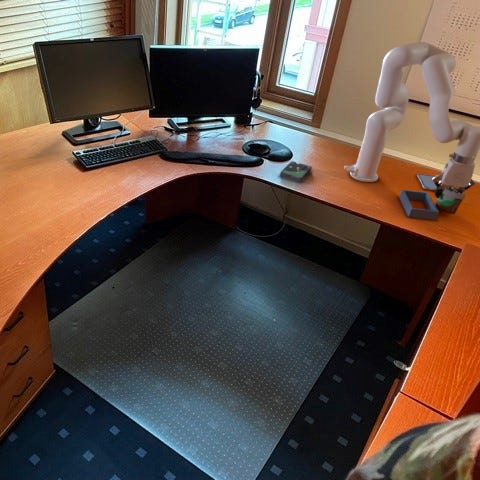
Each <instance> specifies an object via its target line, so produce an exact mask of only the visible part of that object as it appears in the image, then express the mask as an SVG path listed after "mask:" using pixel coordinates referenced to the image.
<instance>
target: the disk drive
mask: <svg viewBox="0 0 480 480" xmlns="http://www.w3.org/2000/svg"><path fill="white" fill-rule="evenodd" d="M312 168H313V166H311V165H308V164H304V163H297V161H294V160H291V161H290V162H289V163H288V164H287V165H286V166H285V167H284V168H283V169H282V170H281V171H280V173H279V177H281V178H284V179H286V180H290V181H293V182H297V183H301V182H302V181H304V179H306V178H307V176H308V175H309V174H310V173H311V171H312Z"/></svg>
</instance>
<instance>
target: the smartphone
mask: <svg viewBox="0 0 480 480" xmlns="http://www.w3.org/2000/svg"><path fill="white" fill-rule="evenodd" d="M416 176H417V178H418V180H419V183H420V184H421V187H422V188H423V189H424V190H430V191H436V188H437V186H436V185H435V183H434V181H433V180H432V178H433V177H435V176H434V175H430V174H421V173H417V175H416Z"/></svg>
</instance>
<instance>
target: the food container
mask: <svg viewBox="0 0 480 480" xmlns="http://www.w3.org/2000/svg"><path fill="white" fill-rule="evenodd" d="M457 189H458V187H455V186H447V185H445V186H444V187H443V188H442V192H441V194H440V197H439V198H436V202H435V206H436V208H437V209H438V211H439V212H442V213H444V214H449V215H455V214H456V213H457V211H458V209H459V207H460V206H461V204H462V202H463V200H465V198H466V193H462V194H461V193H460V192H459V191H458V190H457Z"/></svg>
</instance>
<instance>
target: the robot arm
mask: <svg viewBox="0 0 480 480" xmlns="http://www.w3.org/2000/svg"><path fill="white" fill-rule="evenodd" d="M416 65H419V66H421V73H422V76H423V81H424V83H425V86H426V89H427V93H428V96H429V100H430V102H429V107H428V122H429V126H430V129H431V132H432V135H433V137H434V138H435V140H436V141H437V142H439V143H440V144H441V143H442V144H448V143H451V142H453V141H458V143H457V146H456V147H455V150H454V151H453V152H452V153H449V155H448V158H449V160H448V161H447V162H446V163H445V165H444V167H443V169H442V171H441V173H440V174H437V175H435V176H434V177H433V178H432V180H433V181H434V183H435V185H436V186H437V188H436V190H434V197H435V198H436V199H437V198H439V197H440V194H441V192H442V188H443V187H444V186H445V185H447V186H453V187H455V188H457V190H458V191H459V192H460V193H461V194H464V193H465V191H466V190H467V191H468V190H469V189H470V188H472V187H473V186H475V185H476V182H475V181H474V180H473V179H472V178H473V175H474V173H475V168H476V163H475V160H476V158H477V155H478V154H479V151H480V126H476V125H473V124H471V123H468V121H465V120H462V119H453V120H451V117H450V113H449V109H450V104H451V101H452V100H453V98H454V96H455V94H456V90H455V86H454V83H453V80H452V76H451V73H452V72H453V71H454V70H455V68H456V65H457V61H456V58H455V57H454V55H453V54H452V53H450V52H448V51H446V50H444V49H442V48H439V47H437V46H435V45H433V44H431V43H429V42H425V41H417V42H411V43H405V44H402V45H399V46H396V47H394V48H392V49H391V50H389V51H388V52H387V53H386V55H385V56H384V58H383V61H382V65H381V71H380V72H381V73H380V75H379V79H378V84H377V88H376V92H375V97H374V102H375V105H376V106H377V107H378V108H380V110H376V111H374V112H373V113H371V114H370V115H369V116H368V118H367V119H366V123H365V132H364V135H363V140H362V143H361V146H360V149H359V153H358V157H357V159H356V163H354V164H353V165H346V164H345V165H344V166H343V170H346V171H347V172H349V175H350V177H352V178H353V179H355V180H356V181H359V182H365V183H374V182H377V181H378V179H379V175H378V174H377V171H378V169H379V165H380V163H381V162H380V161H381V159H382V157H383V152H384V149H385V147H386V144H387V134H388V131H391V130H394V129H397V128H398V127H399V126H401V124H402V123H403V121H404V118H405V115H406V111H407V107H408V103H409V100H410V89H409V87H408V86H407V84H405V83H403V82H402V81H403V76H404V75H403V72H404V71H403V68H405V67H410V66H416ZM438 180H439V182H438Z"/></svg>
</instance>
